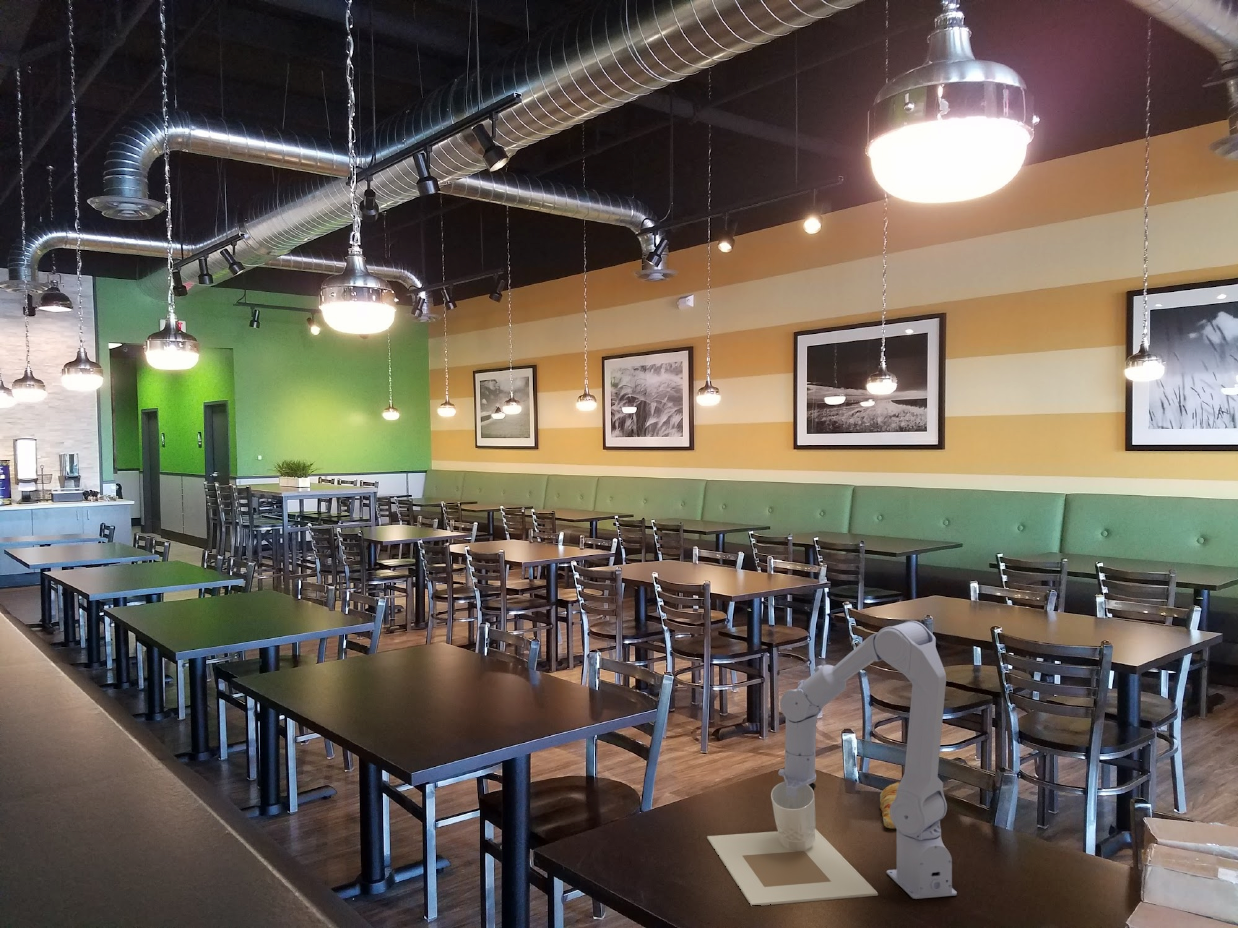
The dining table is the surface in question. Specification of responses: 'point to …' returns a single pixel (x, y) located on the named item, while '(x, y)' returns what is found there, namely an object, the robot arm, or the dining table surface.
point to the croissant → (888, 803)
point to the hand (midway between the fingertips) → (798, 821)
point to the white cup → (794, 817)
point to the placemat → (788, 869)
